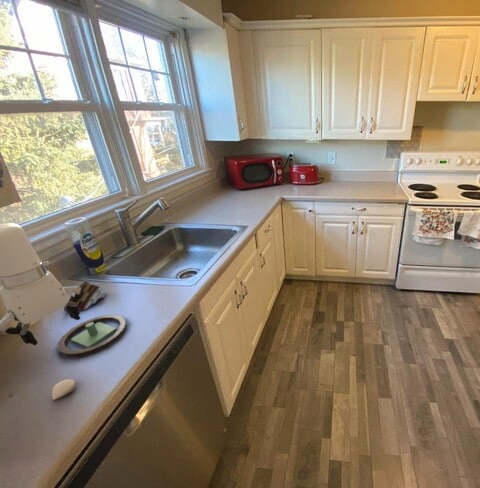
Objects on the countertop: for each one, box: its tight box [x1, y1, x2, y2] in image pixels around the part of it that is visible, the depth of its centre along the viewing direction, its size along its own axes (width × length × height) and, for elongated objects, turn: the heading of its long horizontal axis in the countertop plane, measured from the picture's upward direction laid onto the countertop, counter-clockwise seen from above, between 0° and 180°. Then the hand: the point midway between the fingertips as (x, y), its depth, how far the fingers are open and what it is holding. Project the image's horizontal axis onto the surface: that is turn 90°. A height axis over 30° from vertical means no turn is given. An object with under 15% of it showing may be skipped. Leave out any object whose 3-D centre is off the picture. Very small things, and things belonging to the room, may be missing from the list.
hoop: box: [57, 314, 128, 358], centre depth 83 cm, size 16×16×1 cm
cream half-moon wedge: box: [51, 378, 77, 400], centre depth 66 cm, size 4×5×2 cm
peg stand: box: [70, 322, 118, 349], centre depth 82 cm, size 8×8×4 cm
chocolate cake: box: [63, 277, 106, 313], centre depth 98 cm, size 10×7×12 cm
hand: (55, 330), depth 74 cm, fingers open, 9 cm apart
